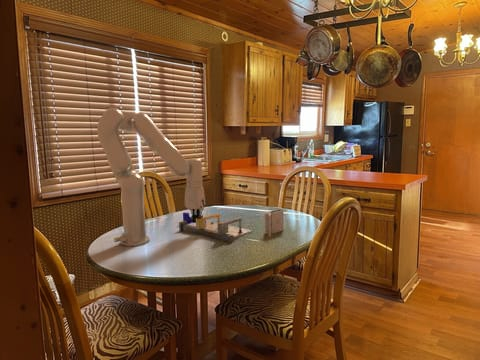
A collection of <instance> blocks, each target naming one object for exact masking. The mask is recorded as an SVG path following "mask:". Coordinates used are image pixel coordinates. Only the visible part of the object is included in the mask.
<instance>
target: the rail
mask: <svg viewBox="0 0 480 360" xmlns="http://www.w3.org/2000/svg"><path fill="white" fill-rule="evenodd" d="M178 227H179V229H178V230H179V232H185V233H190V234H193V235H197V236H200V237H201V236H202V237H204V238H209V239H212V240H217V241H221V242H224V243H228V244H231V243H234V237H233V235H230V234H226V233H225V234H223V235H220V234H218V232H217V231H213V230H209V229H205V228H203V229H196V225H192V224H187V221H183V220H182V221H179V222H178Z"/></svg>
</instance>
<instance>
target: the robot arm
mask: <svg viewBox="0 0 480 360" xmlns="http://www.w3.org/2000/svg"><path fill="white" fill-rule="evenodd" d="M97 123H98V124H97V126H96V127H97V128H96V129H97V131H96V134H97V138H98V141H99V144H100V146H101V147H102V150H103V152H104V153H105V156H106V158H107V163H108V166H109V169H110V170H111V172H112V174H113V175H114V178H115V180H116V181H117V183H118V185H119V187H120V190H121V191H120V192H121V211H122V225H123V233H121V235H120V236H117V237H114V238H113V242H114V243H119V242H120V244H121V245H122V246H124V247H126V246H127V247H136V246H137V247H138V246H142V245H146V244H148V243H149V242H150V241H151V238H150V237H149V236H147V231H146V216H145V215H146V213H145V183H144V179H143V178H142V177H141V175H140V174H138V173H137V170H136V168H135V166H134V165H133V163H132V162H133V161H132V157H131V155H130V154H129V151H128V150H127V148H126V146H125V144H124V143H123V141H122V137H121V135H120V131H126V132H133V133H134V132H135V133H136V134H137V135H138V136H139V137H140V139H142V141H143V142H144V143H145V144H146V146H147V147H148V148H149V149H150V150H151V151H152V152H153V153H154V154H156V155H157V156H159V157H160V158H161V159H162V161H164V162H165V163H166V164H167V165H168V166H167V167H168V170H169V172H170V173H171V174H172V175H174V176H177V177H186V186H185V190H184V207H185V208H187V209H188V210H189V211H190V214H191V216H192V222H193V223H194V224H196V218H199V214H200V212H202V213H203V212H204V211H205V207H206V194H205V190H204V189H205V188H204V185H203V184H204V183H203V165H202V164H203V163H202V162H203V161H202V159H200V158H188V159H186V158H185V157H184V156H183V155H182V153H181V152H180V151H179V150H178V149H177V148H176V147H175V146H174V145H173V144H172V143H171V141H170V140H169V139H168V138H167V137H166V136H165V134H164V133H163V132H162V131H161V130H160V128H159V127H157V125H156V124H155V122H153V120H152V119H151V118H150V116H148V115H147V114H146V113H144V112H137V113H136V112H128V111H123V110H120V109H118V108H115V107H110V108H107V109H106V110H105V111H104V112H103V113H102V115H101V117H100V119H99V121H98V122H97Z"/></svg>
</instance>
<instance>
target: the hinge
mask: <svg viewBox="0 0 480 360" xmlns="http://www.w3.org/2000/svg"><path fill="white" fill-rule="evenodd" d="M282 231H284V209H274V210H270V211H266V212H265V213H264V233H265V234H266V235H268V237H271V236H272V234H275V233H279V232H282Z"/></svg>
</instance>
